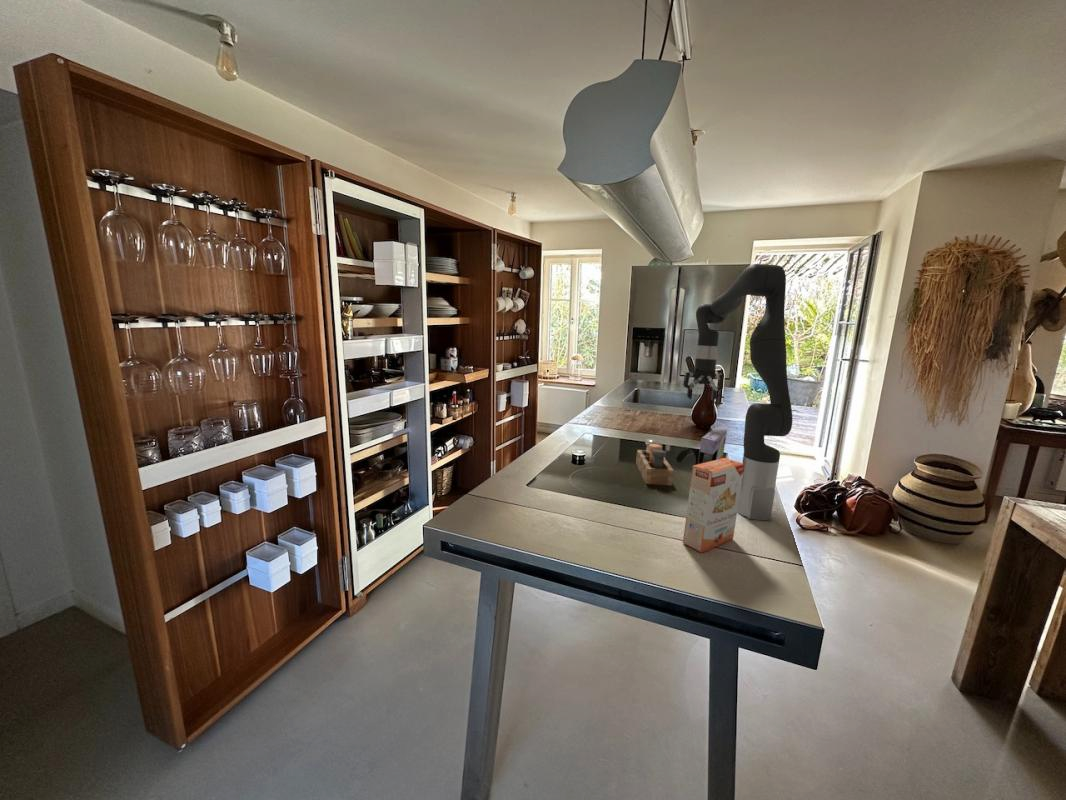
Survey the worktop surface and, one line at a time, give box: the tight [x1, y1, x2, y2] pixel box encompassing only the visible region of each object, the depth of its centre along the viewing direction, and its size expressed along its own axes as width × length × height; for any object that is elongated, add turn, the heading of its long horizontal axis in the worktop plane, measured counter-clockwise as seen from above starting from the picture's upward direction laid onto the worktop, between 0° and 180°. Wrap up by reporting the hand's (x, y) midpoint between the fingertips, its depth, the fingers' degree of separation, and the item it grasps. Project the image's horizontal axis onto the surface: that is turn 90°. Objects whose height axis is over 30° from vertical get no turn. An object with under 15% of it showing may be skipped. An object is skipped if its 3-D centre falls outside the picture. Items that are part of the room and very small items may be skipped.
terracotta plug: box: [649, 444, 663, 462], centre depth 154 cm, size 5×5×7 cm
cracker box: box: [682, 457, 745, 554], centre depth 105 cm, size 14×6×21 cm, turn 124°
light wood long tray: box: [635, 449, 675, 487], centre depth 155 cm, size 22×9×6 cm, turn 175°
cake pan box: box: [697, 427, 728, 464], centre depth 149 cm, size 19×5×18 cm, turn 143°
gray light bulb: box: [652, 449, 667, 469], centre depth 147 cm, size 5×5×7 cm
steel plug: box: [645, 438, 659, 456], centre depth 161 cm, size 5×5×7 cm
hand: (701, 399), depth 162 cm, fingers open, 8 cm apart
